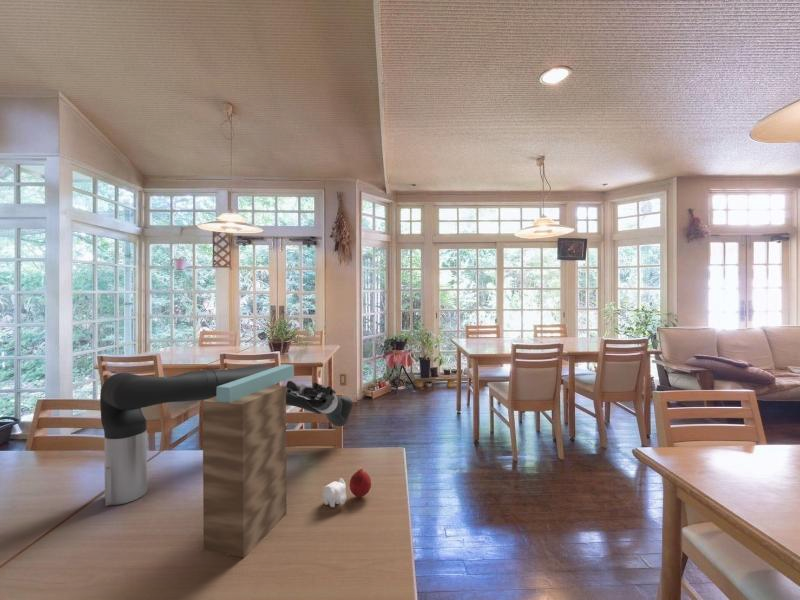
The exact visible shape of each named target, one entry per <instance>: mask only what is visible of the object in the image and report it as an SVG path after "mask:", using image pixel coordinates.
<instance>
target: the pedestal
mask: <svg viewBox="0 0 800 600" xmlns="http://www.w3.org/2000/svg"><path fill="white" fill-rule="evenodd" d="M286 392H287V387H286V385H278V384H274V385H272V386H269V387H267V388H265V389H262V390H260V391H257V392H255V393H252V394H250V395H248V396H245V397H243V398H240V399H238V400H235V401H233V402H231V403H225V402H217V396H215V397H212V398H209V399H206V400H202V485H203V487H202V493H203V495H202V496H203V497H202V501H203V502H202V503H203V504H202V507H203V509H202V510H203V511H202V512H203V515H202V516H203V523H202V524H203V525H202V526H203V527H202V529H203V551H207V550H208V551H207V552H213V553H217V554H221V553H223V554H222V555H226V554H229V555H228V556H231V555H232V556H231V557H236V556H238V557H237V558H240V557H243V558H242V559H245V557H246V556H247V555H248V554H249V553H250V552H251V551H252V550H253V549H254V548H255V547H256V546H257V545H258V544H259V543H260V542H261V541H262V540H263V539H264V538H265V537H266V536H267V535H268V534H269V533H270V532H271V530H272V529H274V528H275V526H276V525H277V524H278V523H279V522H280V521H281V520H282V519H283V518H284V517H285V516H286V515H287V405H286Z"/></svg>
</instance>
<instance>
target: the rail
mask: <svg viewBox="0 0 800 600" xmlns="http://www.w3.org/2000/svg"><path fill="white" fill-rule="evenodd" d="M294 377H295V366H294V364H284V363H283V364H281V365H277V366H275V367H271V369H268V370H265V371H262V372H259V373H256V374H253V375H250V376H247V377H244V378H241V379H238V380H235V381H232V382H229V383H226V384H223V385H220V386H217V402H225V403H231V402H233V401H235V400H238V399H240V398H243V397H245V396H248V395H250V394H252V393H255V392H257V391H260V390H262V389H265V388H267V387H269V386H272V385H278V384H279V383H281V382H284V381H286V380H289V379H292V378H294Z"/></svg>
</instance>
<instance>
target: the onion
mask: <svg viewBox="0 0 800 600" xmlns="http://www.w3.org/2000/svg"><path fill="white" fill-rule="evenodd" d="M371 488H372V481H371V477H370V475H369V473H368V472H366V471H364V468H363V467H358V469H357V471H355V472H354V473H353V475H352V476H351V478H350V480H349V490H350V492H351V493H352V495H354V496H355V497H357V498H359V499H362V498H363V497H365V496H366V495H367V494H368V493H369V492H370V490H371Z"/></svg>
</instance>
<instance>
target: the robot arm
mask: <svg viewBox="0 0 800 600" xmlns="http://www.w3.org/2000/svg"><path fill="white" fill-rule="evenodd" d="M271 368H272V367H271V366H269V365H268V366H267V365H251V366H244V367H238V368H237V367H236V368H231V369H230V368H229V369H228V368H227V369H203V370H202V369H201V370H200V369H199V370H193V371H187V372H184V373H181V374H177V375H173V376H145V375H143V376H142V375H138V374H135V373H130V372H117V373H114V374H113V375H111V376H109V377H108V378H107V379H106V380H105V381H104V382H103V384H102V386H101V389H100V393H99V395H100V396H99V402H100V406H99V407H100V420H101V421H100V422H101V426H102V428H103V432H104V433H103V434H104V435H103V436H104V463H103V464H104V469H103V470H104V474H103V475H104V505H105V507H107V506H113V505H114V506H115V505H123V504H127V503H131V502H132V501H136V500H138V499H140V498H142V497H143V496H145V495H146V494H147V492H148V429H147V428H148V427H147V426H148V425H147V423H148V422H147V418H146V417H145V416H144V414H143V412H142V409H143V408H148V407H151V406H156V405H160V404H167V403H181V402H182V403H184V402H194V401H195V402H197V401H204V400H207V399H209V398H212V397H215V396H217V386H220V385H223V384H226V383H229V382H232V381H235V380H238V379H241V378H244V377H247V376H250V375H253V374H256V373H259V372H262V371H265V370H268V369H271ZM285 386H286V406H291V407H297V408H300V409H302V410H306V411H308V412H311V413H314V414H317V415H321V414H325V416H326V418H327V420H328V421H329V422H330V423H331V424H332V425H333V426H335V427H339V428H340V427H343V426H345V425H346V424H347V423H348V421H349V417H350V414H351V413H352V409H353V407H354V402H353V401H352V399H351V398H349V397H347V396H338V395H336V391H335V390H334V389H333V388H332V387H330V386H325V385H323V384H320V383H318V382H313V384H312V386H311V385H305V384H296V383H295V382H294V381H292V380H288V381H287V382H286V385H285Z"/></svg>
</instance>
